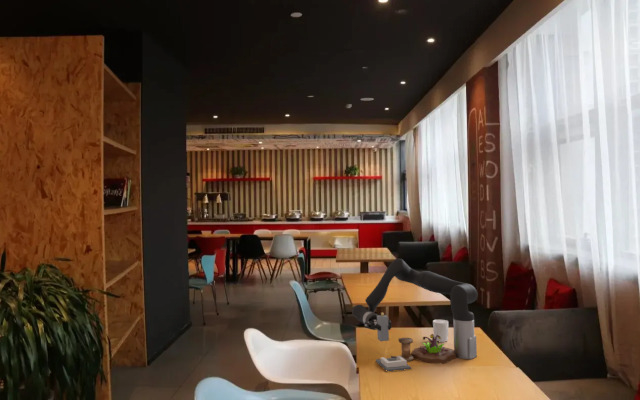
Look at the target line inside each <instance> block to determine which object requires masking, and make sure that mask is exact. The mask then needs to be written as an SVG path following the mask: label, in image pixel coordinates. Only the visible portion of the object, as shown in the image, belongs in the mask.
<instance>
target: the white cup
mask: <svg viewBox="0 0 640 400" xmlns="http://www.w3.org/2000/svg"><path fill="white" fill-rule="evenodd" d="M432 326H433V335H434V339H435V337H436V335H439V336H440V337H441V338H440V339H438V336H437V339H436V341H440V342H439V343H446V342H445V341H447V342H448V341H449V339H448V337H449V320H447V319H446V320H445V319H434V320H432Z"/></svg>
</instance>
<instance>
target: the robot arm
mask: <svg viewBox="0 0 640 400" xmlns="http://www.w3.org/2000/svg"><path fill="white" fill-rule="evenodd" d="M394 277H395V278H396V279H397V280H399V281H401V282H404V283H409V284H413V285H414V286H417V287H419V288H422V289H424V290H426V291H429V292H432V293H436V294H441V295H442V294H443V295H449V297H450V307H451V308H450V309H451V314H452V316H453V317H452V318H453V319H452V320H453V350H454V352H455V355H456V358H458V359H464V360H472V359H475V358H476V357H477V356H478V354H477V353H478V352H477V336H476V335H475V314H474V313H473V312H472V311H469V304H472V303H474V302H475V301H476V300H477V299H478V297H479V293H478V291H477V289H476V287H474V285H472V284H470V283H466V282H462V281H457V280H453V279H450V278H448V277H447V276H443V275H440V274H438V273H435V272H432V271H429V270H423V271H418V270H415V269H413V268H412V267H410V266H409V265H408V264H407V263H406V261H404V259H402V258H395V259H394V260H392V261H391V263H390V264H389V265H388V267H387V268H386V270H385V272H384V274H383V275H382V277H381V279H380V280H379V281H378V283H377V285H376V286H375V288H374V289H372V291H371V292H370V293H369V295H368V296H367V297H366V298H365V303H366V304H367V306H368V309H367V308H366V307H365V306H364V305H362V304H356V305H355V306H353V308H352V310H351V311H352V312H351V313H352V316H353V317H355V319H357V320H358V321H359V322H360V323H361V324H364V328H365V329H369V330H373V331H377V330H379V331H381V326H380V325H378V324H377V316H379V315H380V314H377V313H375V311H376V309H377V307H378V306H379V304H380V303H381V302H382V301H383V300H384V299H385V297H386V294H387V292H388V288H389V286H390V283H391V281H392V279H393V278H394ZM388 330H389V331H390V330H392V320H391V319H388Z"/></svg>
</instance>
